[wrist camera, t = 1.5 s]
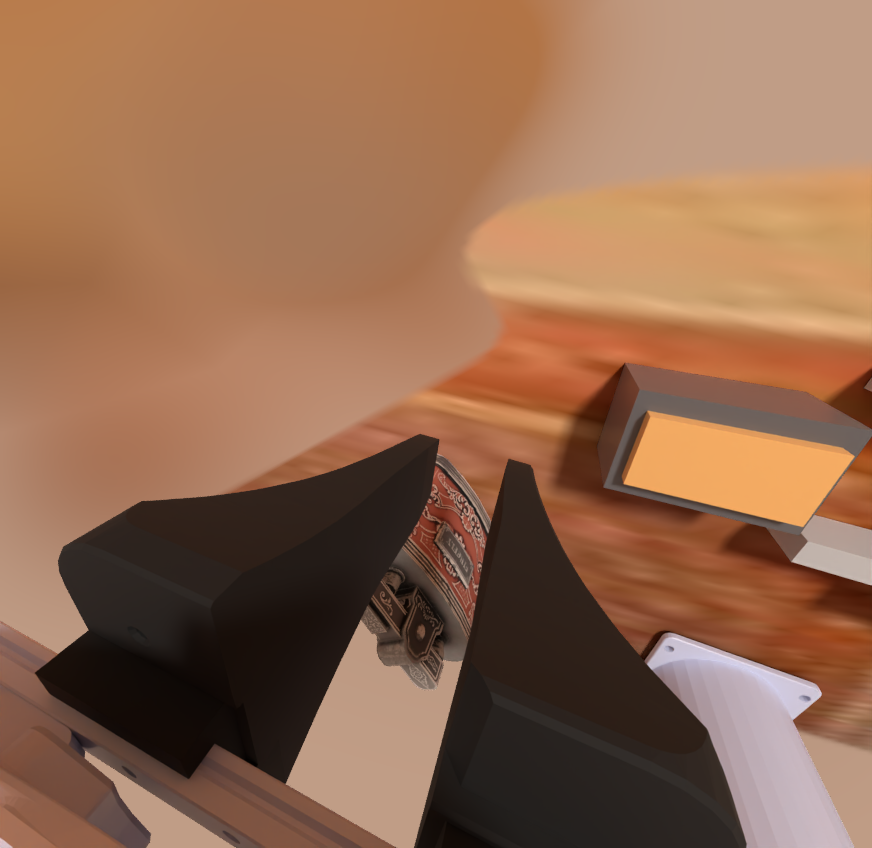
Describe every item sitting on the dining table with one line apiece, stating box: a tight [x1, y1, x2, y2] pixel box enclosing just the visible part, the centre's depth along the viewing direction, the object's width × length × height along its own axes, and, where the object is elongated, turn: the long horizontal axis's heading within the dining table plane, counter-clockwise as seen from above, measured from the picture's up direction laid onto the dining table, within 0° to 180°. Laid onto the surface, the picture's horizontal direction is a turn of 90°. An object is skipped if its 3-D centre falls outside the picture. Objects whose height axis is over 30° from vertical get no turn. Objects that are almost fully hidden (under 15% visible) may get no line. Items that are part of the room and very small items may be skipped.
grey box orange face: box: [597, 363, 872, 535], centre depth 15 cm, size 4×7×5 cm, turn 85°
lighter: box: [361, 454, 491, 690], centre depth 19 cm, size 8×3×10 cm, turn 33°
